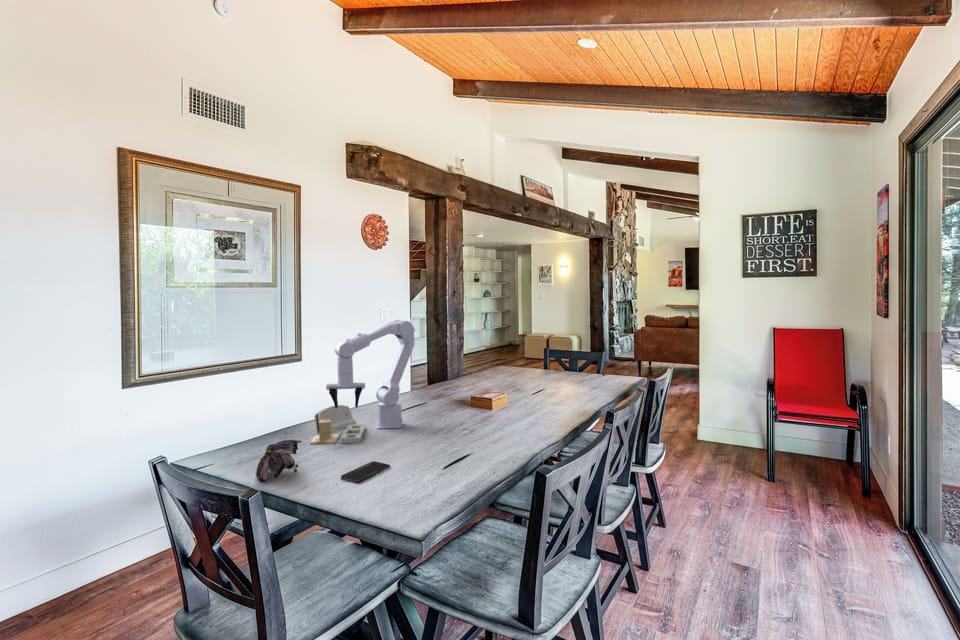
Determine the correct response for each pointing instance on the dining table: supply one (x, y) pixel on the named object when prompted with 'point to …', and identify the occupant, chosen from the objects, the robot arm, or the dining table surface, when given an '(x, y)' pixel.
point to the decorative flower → (277, 459)
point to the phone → (365, 472)
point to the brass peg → (325, 429)
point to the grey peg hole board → (353, 433)
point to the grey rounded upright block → (335, 417)
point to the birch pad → (333, 440)
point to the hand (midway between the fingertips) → (346, 407)
